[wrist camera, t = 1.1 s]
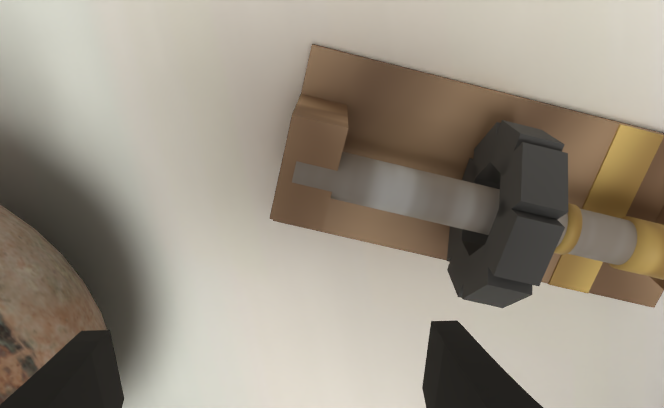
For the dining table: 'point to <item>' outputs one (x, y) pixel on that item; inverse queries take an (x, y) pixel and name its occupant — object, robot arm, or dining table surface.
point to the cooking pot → (36, 303)
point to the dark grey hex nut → (512, 215)
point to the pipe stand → (449, 166)
